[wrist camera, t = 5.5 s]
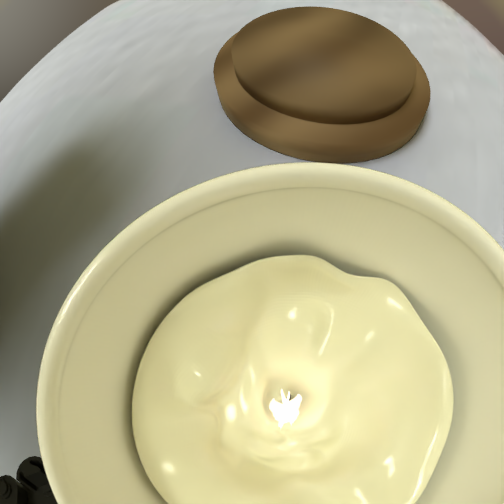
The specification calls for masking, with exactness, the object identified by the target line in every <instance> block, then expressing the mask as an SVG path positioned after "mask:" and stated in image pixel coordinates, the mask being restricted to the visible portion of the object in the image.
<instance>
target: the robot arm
mask: <svg viewBox="0 0 504 504" xmlns="http://www.w3.org/2000/svg"><path fill="white" fill-rule="evenodd" d="M16 480H18V481H19V482H20V483H19V482H18V481H16ZM16 480H15V479H14V478H12V477H11V476H8V475H4V476H1V477H0V504H58V503H57V501H56V499H55V497H54V494H53V492H52V489H51V487H50V484H49V481H48V479H47V475H46V472H45V469H44V465H43V461H42V458H40V457H36V456H34V457H29V458H27V459H25V460H24V461H23V462H22V463H21V464H20V466H19V468H18V470H17V477H16Z"/></svg>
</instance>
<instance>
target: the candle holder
mask: <svg viewBox="0 0 504 504" xmlns="http://www.w3.org/2000/svg"><path fill="white" fill-rule="evenodd" d="M36 422H37V434H38V441H39V447H40V453H41V457H42V461H43V465H44V469H45V472H46V475H47V479H48V481H49V484H50V487H51V489H52V492H53V494H54V497H55V499H56V501H57V503H58V504H504V250H503V249H502V247H501V246H500V245H499V244H498V243H497V242H496V241H495V240H494V238H493V237H492V236H491V235H490V234H489V233H488V232H487V231H486V230H485V229H484V228H482V227H481V226H480V225H479V224H478V223H477V222H476V221H475V220H473V219H472V218H471V217H470V216H468V215H467V214H466V213H464V212H463V211H462V210H460V209H459V208H458V207H456V206H455V205H453V204H452V203H450V202H449V201H447V200H445V199H444V198H442V197H440V196H438V195H437V194H435V193H433V192H431V191H429V190H427V189H425V188H423V187H421V186H419V185H417V184H414V183H412V182H409V181H407V180H404V179H402V178H399V177H396V176H393V175H390V174H386V173H383V172H379V171H376V170H371V169H367V168H362V167H357V166H350V165H343V164H334V163H316V162H301V163H284V164H274V165H267V166H261V167H255V168H250V169H245V170H241V171H237V172H233V173H230V174H226V175H223V176H220V177H217V178H214V179H211V180H208V181H206V182H203V183H200V184H198V185H196V186H193V187H191V188H189V189H187V190H184V191H182V192H180V193H178V194H176V195H174V196H172V197H171V198H169V199H167V200H165V201H164V202H162V203H160V204H158V205H157V206H155V207H154V208H152V209H151V210H149V211H147V212H146V213H145V214H143V215H142V216H140V217H139V218H138V219H136V220H135V221H134V222H132V223H131V224H130V225H129V226H127V227H126V228H125V229H124V230H122V231H121V232H120V233H119V234H118V235H117V236H116V237H115V238H114V239H112V240H111V241H110V242H109V243H108V244H107V245H106V246H105V247H104V248H103V249H102V250H101V252H100V253H99V254H98V255H97V256H96V257H95V258H94V259H93V261H92V262H91V263H90V264H89V265H88V267H87V268H86V269H85V271H84V272H83V273H82V275H81V276H80V277H79V279H78V280H77V282H76V283H75V285H74V286H73V288H72V289H71V291H70V293H69V294H68V296H67V298H66V299H65V301H64V303H63V305H62V307H61V309H60V311H59V313H58V315H57V317H56V319H55V322H54V324H53V326H52V329H51V331H50V334H49V337H48V340H47V343H46V346H45V350H44V353H43V357H42V361H41V366H40V371H39V377H38V385H37V397H36Z"/></svg>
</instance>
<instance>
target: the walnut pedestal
mask: <svg viewBox="0 0 504 504" xmlns="http://www.w3.org/2000/svg"><path fill="white" fill-rule="evenodd" d="M214 80H215V84H216V88H217V91H218V95H219V99H220V102H221V105H222V108H223V110H224V111H225V113H226V115H227V117H228V118H229V119H230V120H231V121H232V123H233V124H234V125H235V126H236V127H237V128H238V129H239V130H240V131H242V132H243V133H244V134H245V135H247V136H248V137H250V138H251V139H253V140H254V141H255V142H257V143H259V144H261V145H263V146H265V147H267V148H269V149H272V150H274V151H277V152H279V153H282V154H285V155H288V156H292V157H295V158H299V159H304V160H309V161H315V162H324V163H354V162H363V161H368V160H372V159H377V158H380V157H382V156H385V155H388V154H390V153H392V152H394V151H396V150H398V149H399V148H401V147H402V146H403V145H405V144H406V143H407V142H408V141H409V140H410V139H411V138H412V137H413V136H414V134H415V133H416V131H417V129H418V127H419V126H420V124H421V121H422V119H423V117H424V115H425V113H426V111H427V109H428V106H429V102H430V86H429V81H428V78H427V76H426V73H425V71H424V70H423V68H422V66H421V64H420V63H419V62H418V60H417V59H416V58H415V57H414V55H413V54H412V53H411V52H410V50H409V49H408V47H407V46H406V45H405V44H404V42H403V41H402V40H401V39H400V38H399V37H397V36H396V35H395V34H394V33H392V32H391V31H390V30H388V29H387V28H385V27H384V26H382V25H380V24H378V23H377V22H375V21H372V20H370V19H368V18H366V17H363V16H360V15H358V14H354V13H351V12H348V11H343V10H339V9H333V8H325V7H295V8H287V9H282V10H277V11H274V12H270V13H268V14H265V15H262V16H260V17H258V18H256V19H254V20H253V21H251V22H249V23H248V24H247V25H245V26H244V27H243V28H242V29H241V30H240V31H239V32H238V33H236V34H235V35H233V36H232V37H231V38H230V39H229V40H228V41H227V42H226V43H225V44H224V45H223V47H222V48H221V50H220V51H219V53H218V55H217V57H216V60H215V63H214Z"/></svg>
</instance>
